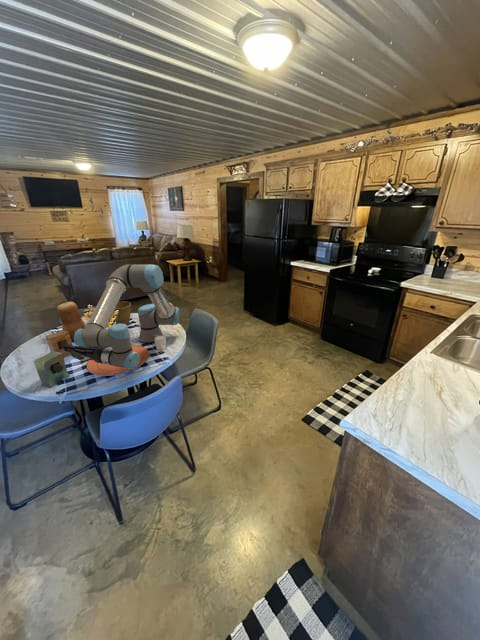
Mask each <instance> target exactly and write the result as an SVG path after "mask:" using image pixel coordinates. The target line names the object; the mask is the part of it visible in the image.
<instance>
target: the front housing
mask: <svg viewBox="0 0 480 640" xmlns="http://www.w3.org/2000/svg"><path fill="white" fill-rule="evenodd" d="M33 364H34V367H35V369H36V372H37V375H38V378H39V381H40V384H41V385H42V386H44V387H49V388H53V387H54V386H56V385H57V384H59V383H60V382H62V381H63V380H65V379H67V378H68V377H69V371H68V368H67V366H66V363H65V359H64V357H63V356H62V353H59V352H54V351H52V352H51V351H50V352H49V353H47V354H45V355H42V356H41V357H39V358H36V359H35V360H33ZM54 364H58V365H62V366H63V370H62V372H60V373H56V372H52V370H51V367H52V366H53V365H54Z"/></svg>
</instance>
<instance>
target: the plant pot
mask: <svg viewBox="0 0 480 640" xmlns="http://www.w3.org/2000/svg"><path fill="white" fill-rule="evenodd" d="M115 310H119V315H118V317H117V320H116V321H115V322H116V324H125V325H126V326H128V325H130V321H131V313H132V304H131V302H129V301H119V302H118V304H117V306H116V308H115Z"/></svg>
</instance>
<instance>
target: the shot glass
mask: <svg viewBox="0 0 480 640" xmlns="http://www.w3.org/2000/svg"><path fill="white" fill-rule="evenodd" d="M154 340H155V342H154V344H155V348H156V350H158V351H162V350H165V349H166V343H167V341H166V336H165V335H163V336H157V337H155V338H154Z"/></svg>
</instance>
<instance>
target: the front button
mask: <svg viewBox="0 0 480 640" xmlns="http://www.w3.org/2000/svg"><path fill="white" fill-rule="evenodd" d="M51 370H52V372H56V373H60V372H62V370H63V366H62V365H58V364H54V365H53V366H52V367H51Z"/></svg>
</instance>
